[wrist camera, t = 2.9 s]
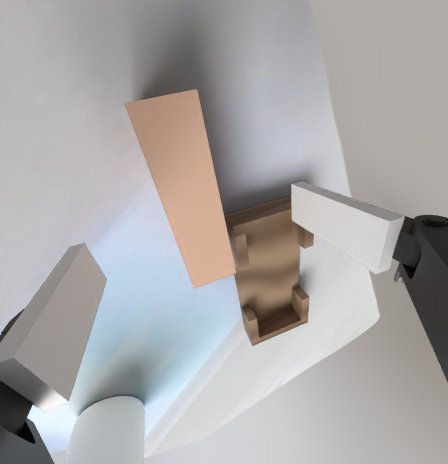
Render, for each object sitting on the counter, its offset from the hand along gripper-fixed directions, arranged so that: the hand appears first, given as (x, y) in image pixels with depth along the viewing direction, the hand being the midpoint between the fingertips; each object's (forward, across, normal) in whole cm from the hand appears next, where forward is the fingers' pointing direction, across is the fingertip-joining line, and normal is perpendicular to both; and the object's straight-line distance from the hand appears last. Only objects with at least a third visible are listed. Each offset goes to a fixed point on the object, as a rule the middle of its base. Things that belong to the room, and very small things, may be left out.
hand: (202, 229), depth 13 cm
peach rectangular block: (+8, 0, +1) cm, 8 cm away
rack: (+8, +8, -13) cm, 18 cm away
